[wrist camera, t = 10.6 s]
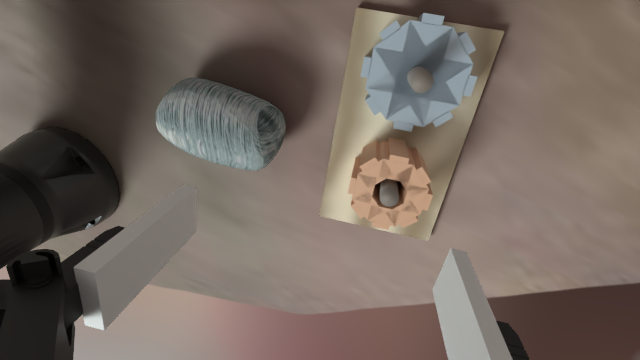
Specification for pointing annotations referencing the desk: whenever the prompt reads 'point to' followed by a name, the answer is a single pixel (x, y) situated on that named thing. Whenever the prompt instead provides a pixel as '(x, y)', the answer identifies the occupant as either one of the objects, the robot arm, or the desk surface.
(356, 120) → the gear board
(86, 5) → the desk surface
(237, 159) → the spool
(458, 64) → the gear
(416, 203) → the loose gear
